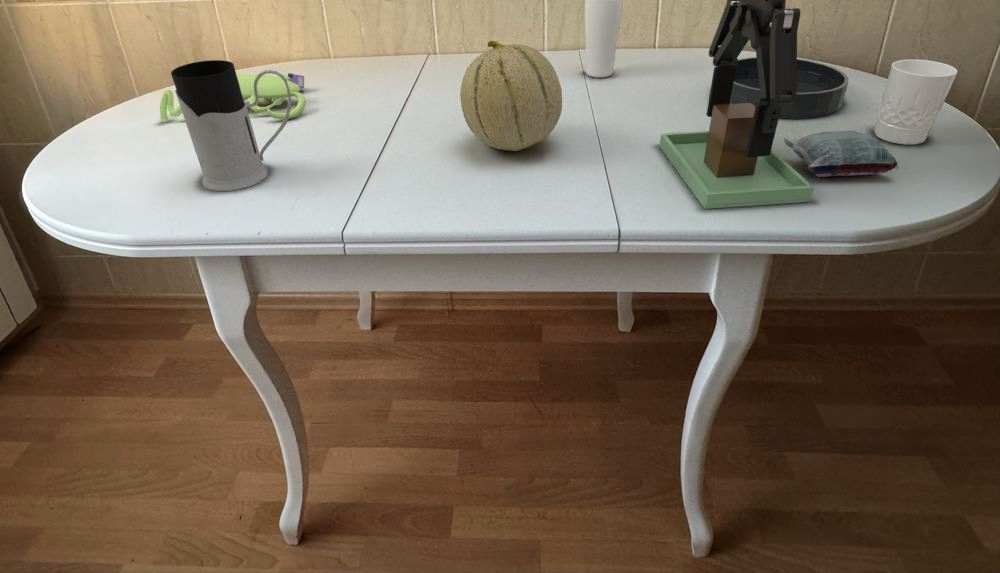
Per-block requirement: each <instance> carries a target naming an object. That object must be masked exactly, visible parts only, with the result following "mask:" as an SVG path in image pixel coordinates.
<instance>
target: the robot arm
mask: <svg viewBox="0 0 1000 573" xmlns="http://www.w3.org/2000/svg"><path fill="white" fill-rule="evenodd" d="M786 2H787V0H726V4H725V7H724V10H723V13H722V15H721V17H720V20H719V23H718V26H717V29H716V31H715V34H714V37H713V38H712V39H713V40H712V42H711V44H710V47H709V49H708V57H709V58H712V65H713V66H714V67H713V73H712V79H711V85H710V90H709V95H708V96H709V97H708V102H707V108H706V116H707V117H708V118H711V116H712V111H713V105H723V104H730V99H731V93H732V88H733V83H734V77H735V72H736V67H734V66H732V67H729V65H737V64H738V63H736V62H738V57H739V56H740V54H741V53H742V51H743V50H744V48H745V47H746V45H747V44H748V43H749V42H750V47H751V49H753V50H755V54H756V55H755V57H757V66H758V75H759V83H760V92H761V98H760V99H759V100H757V101H756V102H755V104H756V107H755V112H754V117H753V122H752V126H751V131H750V136H749V140H748V145H747V150H746V156H747V157H759V156H770V153H771V149H772V150H773V143H774V140H775V136H776V131H777V127H778V123H779V119H780V118H779V115H780V111H781V107H782V106H783V105H785V104H794V103H795V102H796V93H797V59H798V31H799V24H800V19H801V8H799V7H795V8H794V7H793V8H786Z"/></svg>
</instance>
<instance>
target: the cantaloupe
mask: <svg viewBox="0 0 1000 573" xmlns="http://www.w3.org/2000/svg"><path fill="white" fill-rule="evenodd" d="M487 47H488V48H491V49H489V50H487V51H484V52H483V53H481V54H480V55H478V56H477V57H476V58H474V59H473V60H472V61H471V63H470V64H469V66H468V67H467V68H466V70H465V73H464V74H463V77H462V81H461V84H460V92H459V93H460V94H459V96H460V97H459V98H460V105H461V111H462V113H463V114H462V115H463V117H464V120H465V122H466V125H467V126H468V128H469V130H470V132H471V133H472V134H473V135H474V136H475V138H477V139H478V140H479V141H481V142H482V143H483V144H484V145H487V146H489V147H491V148H493V149H496V150H500V151H501V150H502V151H509V152H517V151H522V150H524V149H527V148H530V147H531V146H533V145H536V144H537V143H539V142H542V141H543V140H545V139H546V138H547V137H549V135H550V134H551V133H552V132H553V131H554V130H555V128H556V125H557V124H558V122H559V120H560V117H561V114H562V111H563V92H562V91H563V90H562V86H561V82H560V79H559V76H558V74H557V72H556V70H555V68H554V66H553V65H552V64H551V62H550V61H549V59H548V58H547V57H546V56H545V55H543V53H541V52H540V51H539V50H538V49H536V48H534V47H531V46H528V45H525V44H515V43H511V44H501V43H499V42H498V41H496V40H489V41H488V42H487Z"/></svg>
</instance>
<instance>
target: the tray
mask: <svg viewBox="0 0 1000 573" xmlns="http://www.w3.org/2000/svg"><path fill="white" fill-rule="evenodd" d="M708 134H709V130H704V131H703V130H702V131H701V130H699V131H686V132H685V131H684V132H669V133H661V134H660V139H659V148H660V149H661V151H662V152H663V153H664V155H665V156H666V158H667V159H668V161H669V162H670V163H671V164H672V166H673V167H674V169H675V170H676V172H677V173H678V174H679V175H680V177H681V178H682V180H683V181H684V182H685V183H686V185H687V186H688V188H689V189H690V191H691V192H692V193H693V195H694V196H695V197H696V198H697V200H698V202H699V203H700V204H701V206H702V207H703V209H705V210H709V209H721V208H722V209H723V208H725V209H726V208H741V207H754V206H768V205H769V206H770V205H781V204H782V205H784V204H797V203H809V202H810V203H811V199H812V195H813V192H814V190H815V189H814V185H812V184H811V183H810V182H808V181H807V180H806V179H805V177H804V176H802V175H801V174H800V173H799V172H798V171H796V170H795V169H794V167H792V166H791V165H790V163H788V162H787V161H785V159H783V158H782V156H780V155H779V154H778V153H777V152H776V151H775V150H774V149H773V148H772V149H771V153H770V156H759V157H758V158H757V163H756V167H755V171H754V175H750V176H734V177H719V178H717V177H716V176H715V175H714V174H713V173H712V171H711V170H710V169H709V168H708V167H707V165H706V164H705V163H704V157H705V151H706V145H707V139H708Z"/></svg>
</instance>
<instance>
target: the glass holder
mask: <svg viewBox="0 0 1000 573" xmlns="http://www.w3.org/2000/svg"><path fill="white" fill-rule="evenodd" d="M236 74H237V70H236V68H235V64H234V63H233V62H232V61H229V60H221V59H220V60H218V59H217V60H216V59H213V60H212V59H211V60H202V61H196V62H195V61H194V62H190V63H186V64H183V65H180V66H177V67H175V68H174V69H172V70H171V72H170V75H171V78H172V81H173V85H174V87H175V91H174V92H175V94H176V98H177V101H178V104H179V105H180V107H181V110H182V116H183V118H184V121H185V124H186V128H187V130H188V133H189V136H190V139H191V142H192V145H193V148H194V151H195V154H196V157H197V160H198V163H199V166H200V169H201V172H202V182H201V183H202V186H203V187H204V188H205V189H207V190H210V191H214V192H232V191H233V192H234V191H238V190H242V189H246V188H250V187H252V186H254V185H256V184H258V183H261V182H262V181H263V180H264V179H266V177H267V176H268V175H269V171H268V168H267V167H266V166H265V165H264V163H263V162H264V153H265V152H266V151H267V149H268V147H269V146H271V144H272V143H273V142H274V141H275V140H276V138H277V137H278V136H279V135H280V133H281V132H282V131H283V129H284V128H285V126H286V125H287V124H288V121H289V119H288V118H289V114H290V111H291V110H292V109H291V108H292V96H291V95H290V89H289V86H288V83H287V80H286V79H285V77H284V76H283V75H284V74H282V73H280V72H278V71H277V70H273V69H265V70H263V71H260V72H259V73H258V74H256V75H257V76H256V78H255V80H254V92H255V97H256V101H255V102H254V103H252V104H249V103H248V104H247V102H246V101H245V100H243V97H242V93H241V89H240V86H239V82H238V78H237V75H236ZM266 74H271V75H272V74H273V75H276V76H280V77H281V78H282V79H283V80H284V82H285V85H286V87H287V94H288V98H287V108H286V112H285V113H286V115H285V118H284V119H283V120H282V123H280V124H281V125H280V126H279V127H278V129H277V130H276V131H275V133H274V134H273V135H272V136H271V137H270V138H269V139H268V141H267V142H266V143H265V144H264V145H263V147H262V148H261V149H260V150H259V146H258V143H257V140H256V136H255V132H254V129H253V125H252V121H251V118H250V115H249V110H248V108H250V109H251V107H254V106H255V105H257V106H258V103H259V101H260V100H259V99H260V98H259V97H258V92H257V83H258V81H259V79H260V77H261V76H265V75H266Z"/></svg>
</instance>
